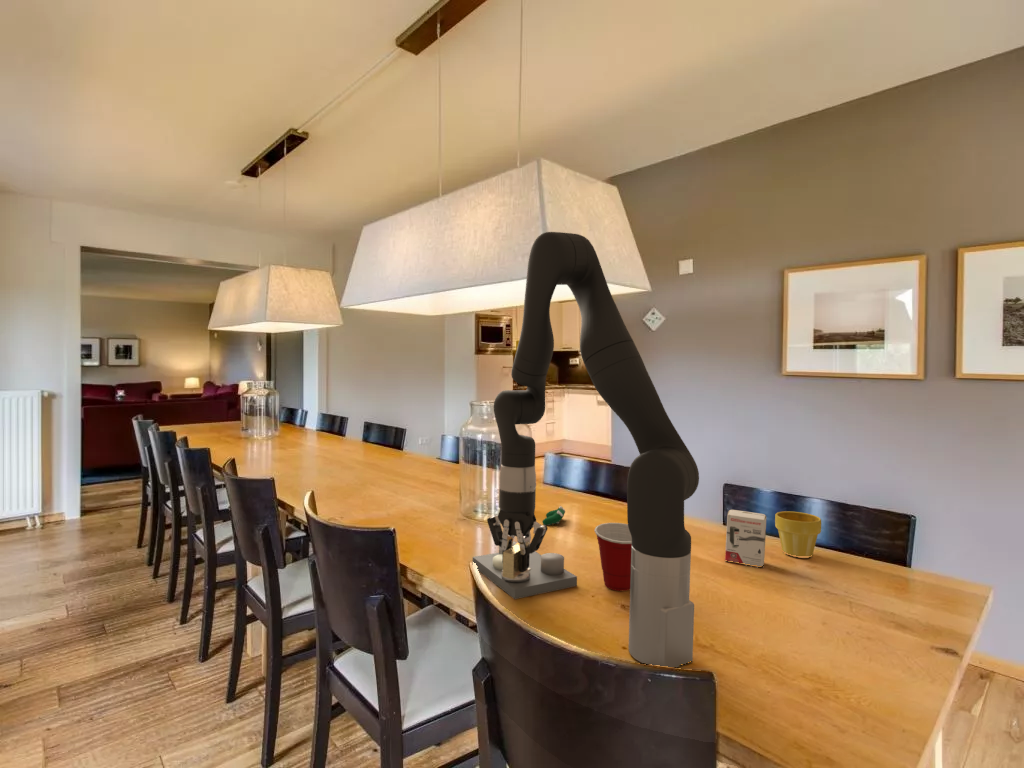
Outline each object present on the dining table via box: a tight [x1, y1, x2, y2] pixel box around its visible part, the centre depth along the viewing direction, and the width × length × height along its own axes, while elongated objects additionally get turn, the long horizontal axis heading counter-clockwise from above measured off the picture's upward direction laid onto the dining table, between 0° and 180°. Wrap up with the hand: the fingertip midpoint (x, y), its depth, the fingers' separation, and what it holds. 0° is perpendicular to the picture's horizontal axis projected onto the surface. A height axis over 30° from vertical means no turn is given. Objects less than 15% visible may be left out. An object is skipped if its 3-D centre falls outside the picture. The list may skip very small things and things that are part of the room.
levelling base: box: [472, 540, 578, 600], centre depth 119 cm, size 20×15×5 cm
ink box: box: [724, 509, 767, 567], centre depth 130 cm, size 9×5×12 cm, turn 62°
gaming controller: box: [542, 505, 566, 526], centre depth 161 cm, size 9×4×6 cm
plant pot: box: [774, 510, 822, 556], centre depth 136 cm, size 10×10×10 cm
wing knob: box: [501, 543, 530, 583], centre depth 112 cm, size 7×6×6 cm
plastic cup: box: [594, 522, 632, 592], centre depth 114 cm, size 11×11×12 cm
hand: (515, 568), depth 112 cm, fingers open, 3 cm apart
